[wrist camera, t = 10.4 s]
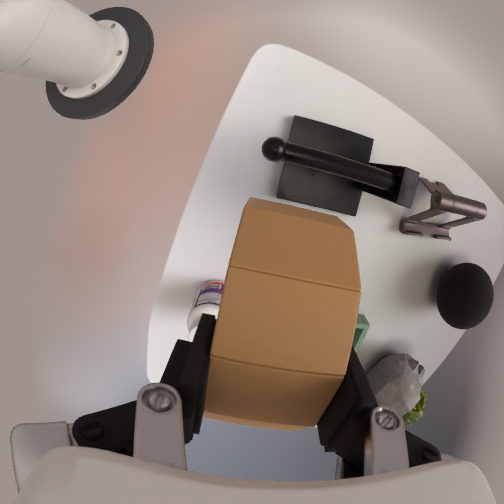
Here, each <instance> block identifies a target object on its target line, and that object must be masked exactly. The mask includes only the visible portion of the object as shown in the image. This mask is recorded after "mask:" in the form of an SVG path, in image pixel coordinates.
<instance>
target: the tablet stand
mask: <svg viewBox="0 0 504 504" xmlns="http://www.w3.org/2000/svg"><path fill="white" fill-rule="evenodd" d="M419 180H420V181H421V182H422V183H423V185H424V186H425V187H426V188H427V189H428V190H429V192H430V193H431V194H432V195H431V206H430V209H429V210H427V211H424V212H421V213H419V214H416V215H413V216H410V217H408V218H405V219H403V220H402V221H401V222H400V232H401V233H402V234H406V235H414V236H421V237H423V236H424V237H432V238H436V239H443V240H450V241H451V238H450V237H449V231H448V229H451V227H455V226H459V225H463V224H466V223H470V222H474V221H479V220H481V219H484V218H485V216H486V213H487V209H486V206H485V204H484V203H481V202H478V201H475V200H471V199H468V198H464V197H461V196H457V195H454V194H452V192H451V191H450V190H449V189H448V188H447V187H446V186H445V185H444V184H443V183H441V182H436V183H437V185H434V184H431V183H430V182H429V181H428V180H427V179H425V178H421V177H420V178H419ZM445 212H451V213H455V214H460V215H464V216H466V217H465V218H462V219H458V220H455V221H451V222H448V223H444V224H441V225H436V224H430V223H424V222H418V221H421V220H424V219H427V218H430V217H433V216H436V215H439V214H442V213H445Z"/></svg>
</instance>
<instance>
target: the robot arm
mask: <svg viewBox="0 0 504 504" xmlns="http://www.w3.org/2000/svg"><path fill="white" fill-rule="evenodd" d="M128 48H129V38H128V34H127V32H126V30H125V28H124V27H122V26H121V25H120V24H119V23H117V22H115V21H112V20H101V21H95V20H94V19H93V18H91V17H90V16H88V15H86V14H85V13H84V12H82V11H81V10H79V9H77V8H76V7H75V6H73V5H71V4H70V3H68V2H66V1H65V0H0V72H6V73H13V74H18V75H23V76H28V77H33V78H38V79H42V80H46V81H50V82H54V83H56V85H57V88H58V90H59V91H60V92H61V93H62V94H63V95H64V96H66V97H69V98H74V99H83V98H86V97H90V96H92V95H94V94H96V93H97V92H99V91H100V90H102V89H103V88H104V87H105V86H107V85H108V84H109V83H110V82H111V81H112V79H113V78H114V77H115V76H116V75H117V73H118V72H119V70H120V69H121V67H122V65H123V63H124V61H125V59H126V56H127V53H128ZM216 321H217V319H215V315H211V314H206V313H202V315H201V318H200V321H199V324H198V327H197V330H196V332H195V335H194V338H193V341H192V342H189V341H185V340H180V339H178V340H177V342H176V344H175V347H174V349H173V351H172V354H171V356H170V359H169V361H168V363H167V366H166V368H165V371H164V373H163V376H162V378H161V381H160V383H151V384H148V385H146V386H144V387H142V388H141V390H140V391H139V393H138V396H137V400H136V401H132V402H129V403H126V404H123V405H119V406H116V407H113V408H109V409H106V410H102V411H99V412H95V413H91V414H87V415H84V416H82V417H79V418H78V419H77V420H76V421H75V422H74V423H71V424H67V423H66V422H65V421H63V422H49V423H24V424H18V425H16V426H15V427H13V429H12V430H11V433H10V443H11V453H12V461H13V468H14V474H15V479H16V484H17V488H18V493H19V494H18V496H17V498H16V500H15V502H14V504H496V501H495V499H494V496H493V494H492V491H491V489H490V487H489V485H488V483H487V481H486V479H485V477H484V475H483V474H482V472H481V470H480V469H479V468H478V467H477V466H476V465H475V464H473V463H471V462H467V461H464V460H461V459H458V458H455V457H452V456H449V455H446V454H443V453H442V454H441V455H440V453H439V451H438V449H437V448H436V447H434V446H433V445H432V444H430V443H428V442H426V441H424V440H422V439H420V438H418V437H417V436H415V435H413V434H412V433H410V432H408V431H406V430H405V428H404V422H403V418H402V416H401V415H400V413H399V412H398V411H396V410H395V409H393V408H391V407H388V406H380V407H379V406H378V403H377V401H376V398H375V396H374V393H373V391H372V389H371V386H370V384H369V381H368V379H367V376H366V374H365V372H364V369H363V367H362V366H361V364H360V361H359V359H358V357H357V354H356V352H355V350H354V347H353V345H352V347H351V352H350V357H349V361H348V365H347V370H346V374H345V375H344V379H343V381H342V383H341V385H340V386H339V388H338V390H337V392H336V393H335V395H334V397H333V399H332V400H331V402H330V404H329V405H328V407H327V409H326V410H325V412H324V414H323V415H322V417H321V418H320V420H319V422H318V423H317V427H318V432H319V439H320V443H321V445H322V446H324V448H325V452H335V453H336V454H337V455H338V457H337V463H336V472H335V480H326V481H302V482H300V481H295V482H294V481H293V482H292V481H290V482H288V481H260V480H247V479H237V478H229V477H221V476H214V475H208V474H202V473H197V472H191V471H187V463H186V454H185V444H187V443H189V442H190V440H192V438H193V434H194V433H195V434H199V432H200V427H201V422H202V417H203V412H204V404H205V396H206V389H207V381H208V374H209V367H210V360H211V358H210V351H211V346H212V341H213V336H214V331H215V326H216Z"/></svg>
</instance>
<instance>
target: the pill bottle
mask: <svg viewBox="0 0 504 504" xmlns="http://www.w3.org/2000/svg"><path fill="white" fill-rule="evenodd" d="M224 283H225V282H222V281H216V280H215V281H209V282H207V283H205V284H204V285H202V286H201V288H200V289H199V291H198V293H197V296H196V298H195V301H194V303H193V306H192V308H191V311H190V313H189V316H188V320H187V326H188V329H189V335H188V340H189V342H192V341H193V338H194V335H195V332H196V330H197V327H198V324H199V321H200V318H201V315H202V313H206V314H211V315H215V319H217V316H218V311H219V307H220V302H221V297H222V292H223V288H224Z"/></svg>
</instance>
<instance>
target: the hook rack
mask: <svg viewBox="0 0 504 504" xmlns="http://www.w3.org/2000/svg"><path fill="white" fill-rule="evenodd" d="M373 141H374V139H372V138H369V137H366V136H363V135H360V134H357V133H355V132H352V131H348V130H345V129H342V128H339V127H336V126H332V125H329V124H326V123H322V122H319V121H315V120H311V119H308V118H304V117H300V116H296V115H295V116H294V118H293V123H292V128H291V132H290V137H289V142H285V141H284V140H283V139H281V138H279V137H270V138H268V139H266V140H265V141H264V143H263V145H262V153H263V155H264V157H265V158H266V159H267V160H269V161H272V162H279V161H283V162H284V165H283V169H282V174H281V178H280V183H279V187H278V192H277V198H280V199H285V200H289V201H294V202H298V203H302V204H307V205H311V206H315V207H319V208H323V209H327V210H331V211H335V212H339V213H343V214H347V215H351V216H356V213H357V209H358V205H359V201H360V197H361V194H362V191H364V192H367V193H370V194H372V195H375V196H378V197H380V198H383V199H385V200H388V201H391V202H393V203H396V204H398V205H401V206H404V207H407V208H411V206H412V203H413V199H414V195H415V191H416V187H417V183H418V178H419V174H420V173H419V172H417V171H414V170H412V169H410V168H407V167H402V166H394V165H385V164H376V163H369V160H370V155H371V151H372V146H373Z"/></svg>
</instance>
